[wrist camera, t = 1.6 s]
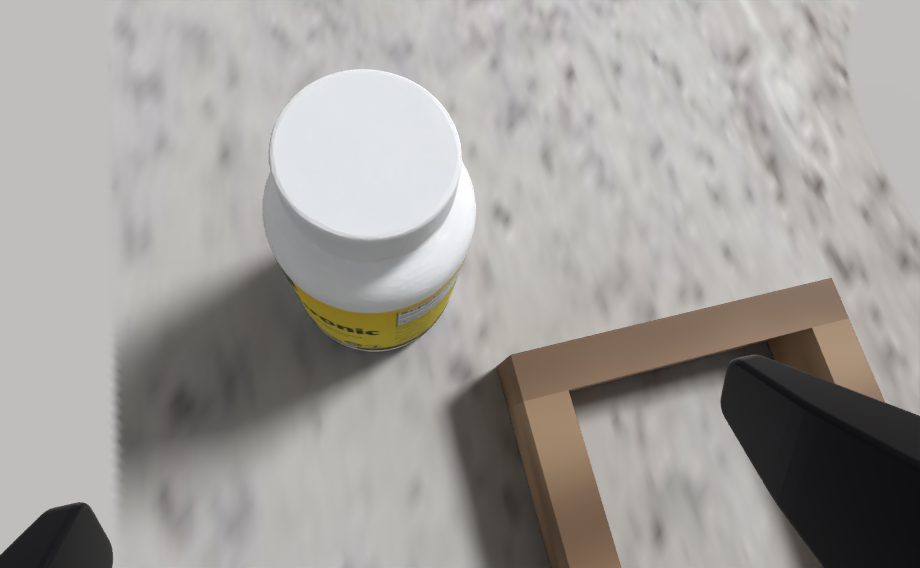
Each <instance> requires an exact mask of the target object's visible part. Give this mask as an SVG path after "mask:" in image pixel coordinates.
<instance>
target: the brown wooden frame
mask: <svg viewBox="0 0 920 568" xmlns="http://www.w3.org/2000/svg"><path fill="white" fill-rule="evenodd" d="M763 342H768V345H769V347H770V350H771V352H772V355H773V358H774V360H775V361H777V362H780V363H782V364H785V365H788V366H790V367H793V368H796V369H798V370H801V371H803V372H806V373H809V374H811V375H814V376H816V377H819V378H822V379H824V380H827V381H830V382H832V383H835V384H837V385H840V386H843V387H845V388H848V389H850V390H853V391H856V392H858V393H861V394H864V395H866V396H869V397H871V398H874V399H877V400H879V401H882V402H884V403H885V401H884V399H883V397H882V394H881V392H880V390H879V387H878V385H877V383H876V380H875V378H874V376H873V373H872V371H871V369H870V366H869V364H868V362H867V359H866V357H865V355H864V352H863V350H862V348H861V345H860V343H859V341H858V338H857V336H856V334H855V331H854V329H853V327H852V324H851V322H850V320H849V317H848V315H847V313H846V310H845V308H844V306H843V303H842V301H841V299H840V296H839V294H838V292H837V289H836V287H835V285H834V282H833V280H832V278H829V279H825V280H821V281H817V282H812V283H808V284H804V285H800V286H796V287H792V288H787V289H783V290H779V291H775V292H771V293H767V294H762V295H758V296H754V297H750V298H746V299H742V300H737V301H733V302H729V303H725V304H721V305H717V306H712V307H708V308H704V309H700V310H696V311H692V312H687V313H683V314H679V315H675V316H671V317H667V318H662V319H658V320H654V321H650V322H646V323H642V324H637V325H633V326H629V327H625V328H621V329H617V330H612V331H608V332H604V333H600V334H596V335H592V336H587V337H583V338H579V339H575V340H571V341H567V342H562V343H558V344H554V345H550V346H546V347H542V348H537V349H533V350H529V351H525V352H521V353H517V354H512V355H510V356H509V357H508V358H506V359H505V360H504V361H503V362H502V363H500V364H499V365H498V366H497V369H498V373H499V377H500V380H501V384H502V388H503V392H504V395H505V399H506V403H507V406H508V410H509V414H510V418H511V421H512V425H513V429H514V432H515V436H516V440H517V444H518V447H519V451H520V455H521V458H522V462H523V466H524V470H525V473H526V477H527V481H528V484H529V488H530V492H531V496H532V499H533V503H534V507H535V510H536V514H537V518H538V522H539V525H540V529H541V533H542V536H543V540H544V544H545V548H546V551H547V555H548V559H549V562H550V566H551V568H621V565H620V562H619V558H618V555H617V552H616V548H615V545H614V542H613V538H612V535H611V532H610V528H609V525H608V521H607V518H606V515H605V511H604V508H603V505H602V501H601V498H600V494H599V491H598V488H597V484H596V481H595V478H594V474H593V471H592V468H591V464H590V461H589V457H588V454H587V451H586V447H585V444H584V441H583V437H582V434H581V431H580V427H579V424H578V420H577V417H576V414H575V410H574V407H573V404H572V400H571V397H570V393H569V392H572V391H576V390H580V389H584V388H588V387H592V386H595V385H599V384H603V383H607V382H611V381H615V380H619V379H623V378H627V377H630V376H634V375H638V374H642V373H646V372H650V371H654V370H658V369H662V368H665V367H669V366H673V365H677V364H681V363H685V362H689V361H693V360H697V359H700V358H704V357H708V356H712V355H716V354H720V353H724V352H728V351H732V350H736V349H739V348H743V347H747V346H751V345H755V344H759V343H763Z"/></svg>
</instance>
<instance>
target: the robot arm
mask: <svg viewBox="0 0 920 568" xmlns="http://www.w3.org/2000/svg"><path fill="white" fill-rule="evenodd" d="M721 409H722V412H723V415H724V417H725V419H726V420H727V422H728V424H729V426H730V427H731V429H732V431H733V432H734V434H735V436H736V437H737V439H738V441H739V442H740V444H741V446H742V447H743V449H744V451H745V452H746V454H747V456H748V457H749V459H750V461H751V462H752V464H753V466H754V467H755V469H756V471H757V472H758V474H759V476H760V478H761V479H762V481H763V483H764V484H765V486H766V488H767V489H768V491H769V492H770V494H771V495H772V497H773V499H774V500H775V502H776V503H777V505H778V506H779V508H780V509H781V511H782V512H783V513H784V515H785V516H786V518H787V519H788V520H789V522H790V523H791V525H792V526H793V527H794V529H795V530H796V531H797V533H798V534H799V535H800V537H801V538H802V539H803V541H804V542H805V544H806V545H807V546H808V548H809V549H810V550H811V552H812V553H813V554H814V556H815V557H816V559H817V560H818V561H819V563H820V564H821V565H822V567H823V568H920V416H919V415H916V414H913V413H911V412H908V411H905V410H903V409H900V408H898V407H895V406H892V405H890V404H887V403H884V402H882V401H879V400H877V399H874V398H871V397H869V396H866V395H864V394H861V393H858V392H856V391H853V390H850V389H848V388H845V387H843V386H840V385H837V384H835V383H832V382H830V381H827V380H824V379H822V378H819V377H816V376H814V375H811V374H809V373H806V372H803V371H801V370H798V369H796V368H793V367H790V366H788V365H785V364H782V363H780V362H777V361H775V360H772V359H769V358H767V357H764V356H761V355H749V356H744V357H739V358H735V359H733V360H731V361H730V363H729V364H728V366H727V370H726V375H725V380H724V385H723V390H722V395H721ZM112 565H113V552H112V546H111V543H110V541H109V539H108V537H107V535H106V534H105V532H104V530H103V528H102V527H101V525H100V523H99V521H98V520H97V518H96V516H95V514H94V512H93V511H92V509H91V508H90V506H89V505H87V504H86V503H80V502H78V503H74V504H69V505H64V506H60V507H55V508H52V509H49V510H47V511H46V512H45V513H43V514H42V515H41V516H40V517H39V518H38V519H37V520H36V521H35V522H34V523H33V524H32V525H31V526H30V527H28V528H27V529H26V530H25V531H24V532H23V533H22V534H21V535H20V536H19V537H18V538H17V539H16V540H15V541H14V542H13V543H12V544H11V545H10V546H9V547H8V548H7V549H6V550H5V551H4V552H3V553H2V554H1V555H0V568H112Z"/></svg>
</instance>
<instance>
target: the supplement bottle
mask: <svg viewBox="0 0 920 568" xmlns="http://www.w3.org/2000/svg"><path fill="white" fill-rule="evenodd" d="M269 165H270V174H269V176H268V179H267V182H266V186H265V190H264V197H263V221H264V228H265V232H266V236H267V239H268V242H269V244H270V247H271V249H272V251H273V253H274V256H275V259H276V261H277V262H278V264H279V265H280V267H281V268H282V270H283V272H284V274H285V275H286V277H287V278H288V280H289V282H290V283H291V285H292V287H293V288H294V290H295V292H296V294H297V296H298V297H299V299H300V301H301V302H302V304H303V306H304V308H305V309H306V311H307V313H308V315H309V316H310V317H311V319H312V320H313V321H314V323H315V324H316V325H317V326H318V327H319V328H320V329H321V330H322V331H323V332H324V333H325V334H326V335H328V336H329V337H330V338H332V339H333V340H335V341H337V342H339V343H340V344H342V345H345V346H347V347H350V348H353V349H357V350H362V351H371V352H377V351H388V350H393V349H397V348H400V347H402V346H405V345H407V344H409V343H411V342H413V341H415V340H416V339H418V338H420V337H421V336H422V335H424V334H425V333H426V332H427V331H428V330H429V329H430V328H431V327H432V326H433V325H434V324H435V322H436V321H437V320H438V318H439V317H440V316H441V314H442V312H443V311H444V309H445V307H446V305H447V303H448V300H449V298H450V295H451V292H452V290H453V288H454V285H455V283H456V280H457V277H458V275H459V273H460V270H461V267H462V264H463V262H464V260H465V257H466V255H467V252H468V250H469V247H470V244H471V240H472V236H473V232H474V226H475V218H476V203H475V195H474V190H473V186H472V182H471V179H470V176H469V174H468V172H467V170H466V168H465V166H464V164H463V162H462V153H461V144H460V140H459V136H458V132H457V130H456V127H455V125H454V123H453V121H452V119H451V117H450V116H449V114H448V112H447V111H446V110H445V108H444V107H443V106H442V105H441V103H440V102H439V101H438V100H437V99H436V98H435V97H434V96H433V95H432V94H430V93H429V92H428V91H427V90H426V89H424V88H423V87H421V86H420V85H418V84H416V83H415V82H413V81H411V80H409V79H406V78H404V77H402V76H399V75H396V74H392V73H389V72H384V71H378V70H367V69H355V70H348V71H342V72H338V73H334V74H331V75H328V76H325V77H323V78H320V79H318V80H316V81H314V82H312V83H310V84H309V85H308V86H306V87H305V88H303V89H302V90H301V91H300V92H298V93H297V94H296V95H295V96H294V97H293V98H292V99H291V100H290V101H289V102H288V103H287V104H286V106H285V107H284V109H283V110H282V112H281V113H280V115H279V117H278V118H277V121H276V123H275V125H274V128H273V131H272V134H271V139H270V144H269Z"/></svg>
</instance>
